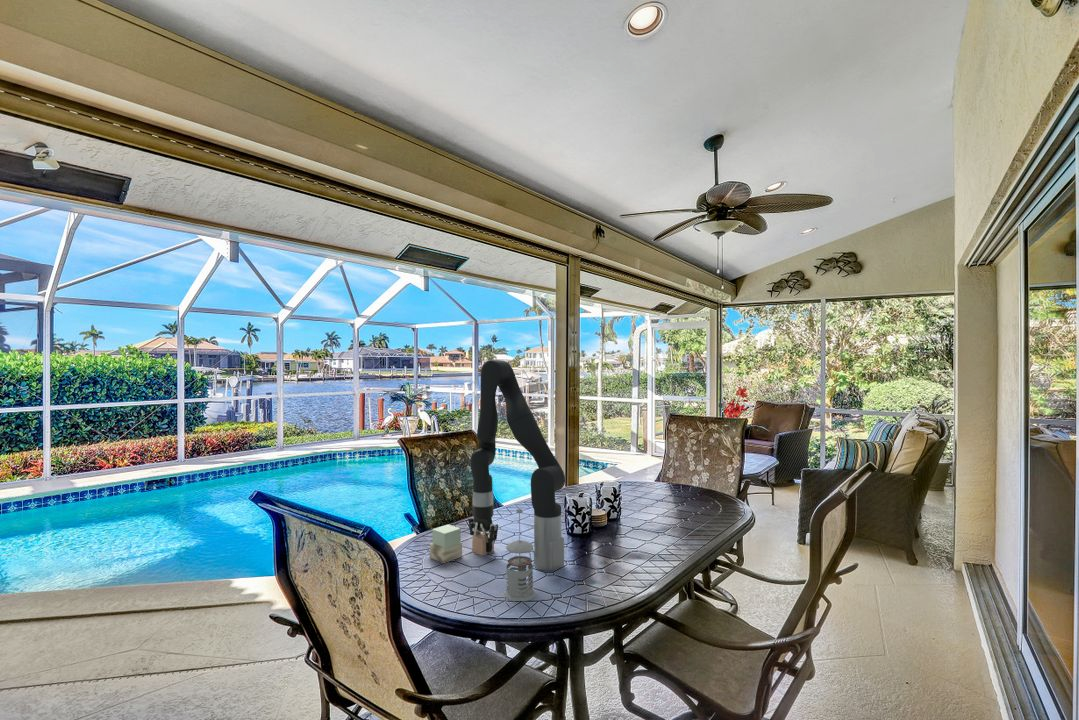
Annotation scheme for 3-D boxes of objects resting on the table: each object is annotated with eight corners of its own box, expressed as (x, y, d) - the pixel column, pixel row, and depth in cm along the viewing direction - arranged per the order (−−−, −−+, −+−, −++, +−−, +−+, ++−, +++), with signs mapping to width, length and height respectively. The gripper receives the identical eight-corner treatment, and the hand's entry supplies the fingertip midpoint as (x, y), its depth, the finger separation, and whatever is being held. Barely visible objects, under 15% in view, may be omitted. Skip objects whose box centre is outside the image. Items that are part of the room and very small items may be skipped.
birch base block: (462, 557, 172) (462, 542, 173) (443, 563, 166) (443, 549, 167) (448, 551, 178) (448, 537, 178) (429, 557, 172) (429, 543, 172)
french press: (496, 596, 143) (496, 510, 143) (519, 581, 152) (519, 500, 152) (523, 605, 137) (523, 515, 137) (546, 589, 147) (545, 505, 147)
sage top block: (460, 542, 173) (460, 528, 173) (444, 548, 167) (444, 533, 168) (448, 538, 177) (448, 524, 177) (432, 543, 172) (432, 529, 172)
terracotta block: (493, 551, 177) (493, 535, 177) (482, 555, 173) (482, 539, 173) (483, 547, 181) (483, 532, 181) (472, 551, 177) (472, 536, 177)
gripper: (504, 504, 175) (504, 551, 175) (477, 497, 185) (477, 542, 185) (488, 509, 170) (488, 558, 170) (462, 501, 179) (462, 548, 179)
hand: (483, 549), depth 177 cm, fingers closed on terracotta block, 5 cm apart
